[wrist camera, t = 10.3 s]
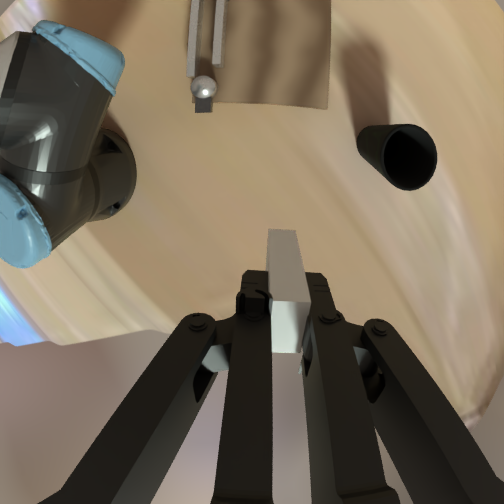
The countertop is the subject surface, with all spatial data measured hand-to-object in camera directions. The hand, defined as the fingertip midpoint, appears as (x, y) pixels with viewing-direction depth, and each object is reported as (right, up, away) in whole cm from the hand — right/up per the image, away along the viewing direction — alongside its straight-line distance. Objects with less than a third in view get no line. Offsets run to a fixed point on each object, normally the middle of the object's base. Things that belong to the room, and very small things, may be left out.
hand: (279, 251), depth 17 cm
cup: (+16, +16, +21) cm, 31 cm away
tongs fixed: (-8, +27, +14) cm, 31 cm away
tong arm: (-5, +30, +12) cm, 33 cm away
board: (0, +28, +15) cm, 32 cm away
